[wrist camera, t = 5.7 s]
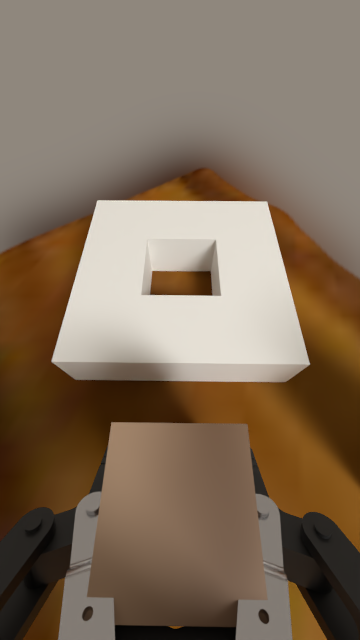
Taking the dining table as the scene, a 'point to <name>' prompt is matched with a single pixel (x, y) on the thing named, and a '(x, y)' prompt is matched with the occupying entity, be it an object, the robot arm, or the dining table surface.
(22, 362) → the dining table surface
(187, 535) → the walnut leg
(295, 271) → the dining table surface
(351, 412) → the dining table surface
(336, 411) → the dining table surface
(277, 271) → the pocket stand
